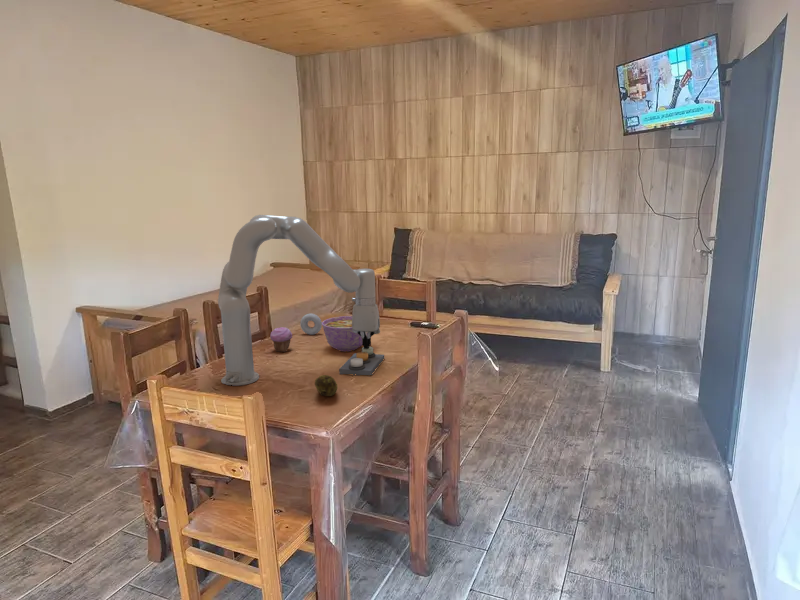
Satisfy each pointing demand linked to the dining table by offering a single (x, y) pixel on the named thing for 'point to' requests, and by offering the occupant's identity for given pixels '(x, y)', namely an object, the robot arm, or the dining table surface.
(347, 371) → the button panel
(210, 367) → the dining table surface
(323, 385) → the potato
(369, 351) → the button sage
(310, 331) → the donut
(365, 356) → the button orange
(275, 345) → the cupcake
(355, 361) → the button white
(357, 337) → the bowl of food
